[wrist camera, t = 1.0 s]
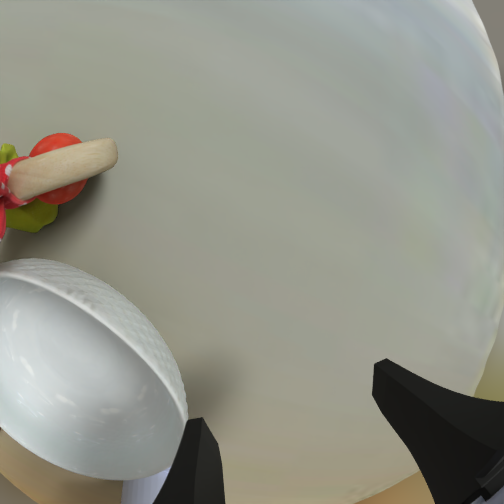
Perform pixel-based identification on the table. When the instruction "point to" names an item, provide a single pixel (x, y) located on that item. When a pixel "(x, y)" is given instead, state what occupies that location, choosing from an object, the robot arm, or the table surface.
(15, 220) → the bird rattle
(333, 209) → the table surface
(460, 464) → the robot arm
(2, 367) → the cereal bowl
